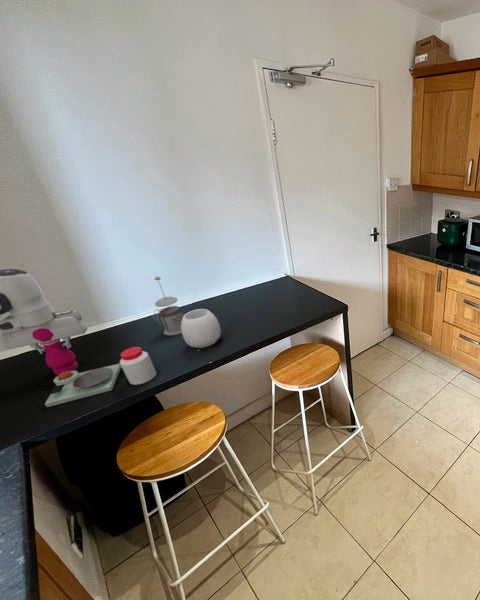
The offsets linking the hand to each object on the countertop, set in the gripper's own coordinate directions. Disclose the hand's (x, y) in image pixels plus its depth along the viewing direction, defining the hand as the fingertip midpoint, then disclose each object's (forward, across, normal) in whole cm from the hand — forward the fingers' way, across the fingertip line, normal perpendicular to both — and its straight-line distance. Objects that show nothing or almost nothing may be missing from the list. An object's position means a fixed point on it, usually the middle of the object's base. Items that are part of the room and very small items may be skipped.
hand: (56, 350), depth 109 cm
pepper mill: (+9, 0, 0) cm, 9 cm away
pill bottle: (+9, -25, +18) cm, 32 cm away
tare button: (+6, -3, +10) cm, 12 cm away
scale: (+8, -9, +14) cm, 19 cm away
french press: (+9, -32, -13) cm, 35 cm away
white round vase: (+9, -44, +4) cm, 45 cm away
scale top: (+5, -9, +16) cm, 19 cm away
